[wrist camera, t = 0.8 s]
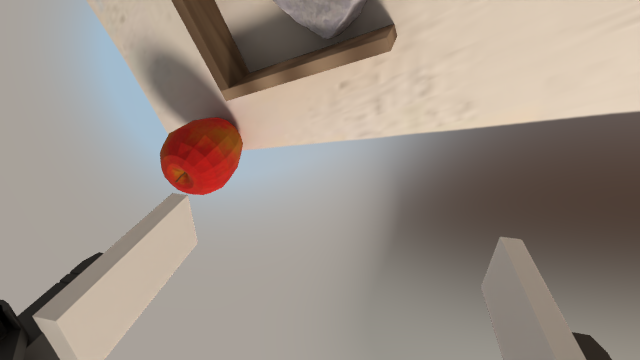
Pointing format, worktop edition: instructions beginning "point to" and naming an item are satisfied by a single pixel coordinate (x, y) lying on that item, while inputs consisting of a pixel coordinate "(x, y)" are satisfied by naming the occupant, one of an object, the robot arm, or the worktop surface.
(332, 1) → the stone block
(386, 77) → the worktop surface
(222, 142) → the apple
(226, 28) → the cubby
